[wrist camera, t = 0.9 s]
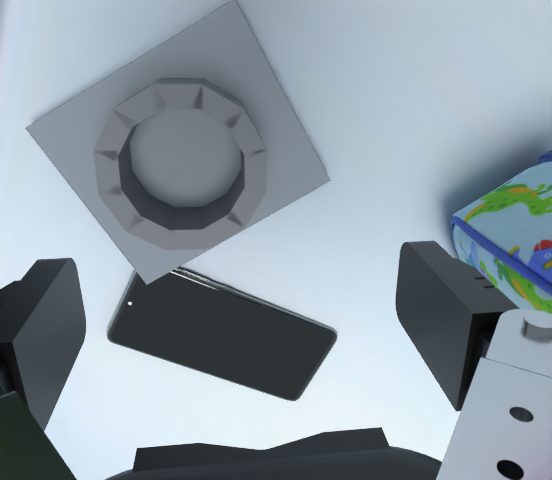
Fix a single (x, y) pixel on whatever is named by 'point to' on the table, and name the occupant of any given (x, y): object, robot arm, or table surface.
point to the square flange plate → (183, 145)
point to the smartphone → (221, 333)
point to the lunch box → (512, 236)
